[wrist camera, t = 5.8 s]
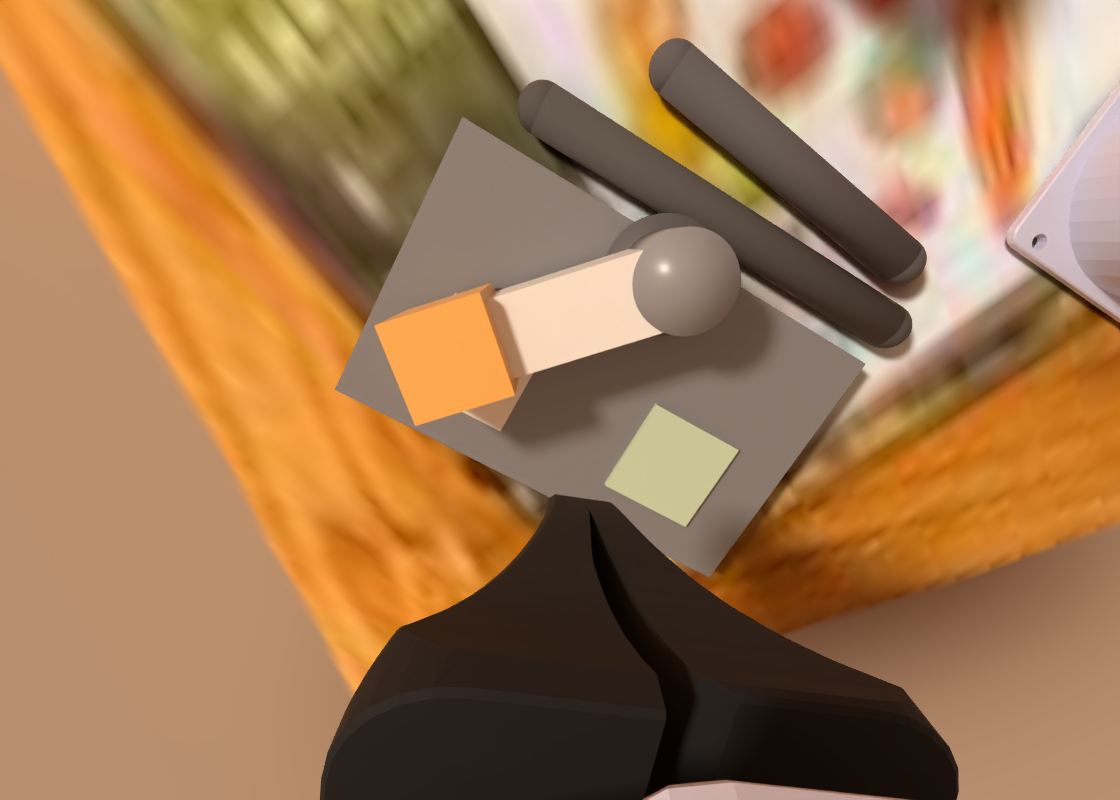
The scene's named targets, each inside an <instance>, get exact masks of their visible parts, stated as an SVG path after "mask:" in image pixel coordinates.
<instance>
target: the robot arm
mask: <svg viewBox="0 0 1120 800" xmlns="http://www.w3.org/2000/svg"><path fill="white" fill-rule="evenodd" d="M1035 236H1036V237H1037V243H1036V245H1035V246H1034V247H1032V241H1033V239H1034V237H1035ZM1006 240H1007V244H1008V245H1009V246H1010V247H1011V248H1012V249H1014V250H1015V251H1017V252H1018V253H1020V254H1021V255H1022V256H1024V257H1025V258H1027V259H1028V260H1030V261H1031V262H1032V263H1034V264H1035V265H1037V266H1038V267H1040V268H1041V269H1043V270H1044V271H1045V272H1047V273H1048V274H1050V275H1051V276H1053V277H1054V278H1055V279H1057V280H1058V281H1060V282H1061V283H1063V284H1064V285H1066V286H1067V287H1068V288H1070V289H1071V290H1073V291H1074V292H1076V293H1077V294H1078V295H1080V296H1081V297H1083V298H1084V299H1086V300H1087V301H1089V302H1090V303H1091V304H1093V305H1094V306H1096V307H1097V308H1099V309H1100V310H1101V311H1103V312H1104V313H1106V314H1107V315H1109V316H1110V317H1112V318H1113V319H1114V320H1116V321H1117V322H1119V323H1120V82H1119V83H1118V84H1117V86H1116V87H1115V88H1114V90H1113V91H1112V92H1111V94H1110V95H1109V96H1108V98H1107V99H1106V100H1105V102H1104V103H1103V104H1102V106H1101V107H1100V108H1099V110H1098V111H1097V112H1096V114H1095V115H1094V116H1093V118H1092V119H1091V120H1090V122H1089V123H1088V124H1087V126H1086V127H1085V128H1084V130H1083V131H1082V132H1081V134H1080V135H1079V136H1078V138H1077V139H1076V140H1075V142H1074V143H1073V144H1072V146H1071V147H1070V148H1069V150H1068V151H1067V152H1066V154H1065V155H1064V156H1063V158H1062V159H1061V160H1060V162H1059V163H1058V164H1057V166H1056V167H1055V168H1054V170H1053V171H1052V172H1051V174H1050V175H1049V176H1048V177H1047V179H1046V180H1045V181H1044V183H1043V184H1042V185H1041V187H1040V188H1039V189H1038V191H1037V192H1036V193H1035V195H1034V196H1033V197H1032V199H1031V200H1030V201H1029V203H1028V204H1027V205H1026V207H1025V208H1024V209H1023V211H1022V212H1021V213H1020V215H1019V216H1018V217H1017V219H1016V220H1015V221H1014V223H1013V224H1012V225H1011V227H1010V228H1009V230H1008V232H1007V237H1006ZM958 787H959V786H958V767H957V764H956V762H955V759H954V757H953V754H952V752H951V750H950V747H949V746H948V745H947V744H946V742H945V741H944V740H943V739H942V737H941V736H940V735H939V734H938V732H937V731H936V730H935V729H934V727H933V726H932V725H931V724H930V722H929V721H928V720H927V718H926V717H925V716H924V715H923V714H922V713H921V711H920V710H919V709H918V707H917V706H916V705H915V703H914V702H913V701H912V700H911V698H910V697H909V696H908V695H907V693H906V692H905V691H904V690H903V689H902V688H901V687H898V686H896V685H893V684H891V683H888V682H886V681H883V680H881V679H878V678H876V677H873V676H871V675H868V674H866V673H863V672H860V671H858V670H855V669H853V668H850V667H848V666H845V665H843V664H840V663H838V662H836V661H833V660H831V659H829V658H826V657H824V656H822V655H820V654H818V653H816V652H814V651H812V650H810V649H807V648H805V647H803V646H801V645H799V644H797V643H795V642H793V641H791V640H789V639H787V638H785V637H783V636H781V635H780V634H778V633H776V632H774V631H772V630H770V629H768V628H766V627H765V626H763V625H761V624H760V623H758V622H756V621H755V620H753V619H751V618H749V617H748V616H746V615H744V614H743V613H741V612H739V611H738V610H736V609H735V608H733V607H731V606H730V605H728V604H727V603H725V602H724V601H722V600H721V599H719V598H718V597H717V596H715V595H714V594H712V593H711V592H710V591H708V590H707V589H705V588H704V587H703V586H701V585H700V584H698V583H697V582H696V581H695V580H693V579H692V578H691V577H690V576H688V575H687V574H686V573H685V572H683V571H682V570H681V569H680V568H679V567H678V566H676V565H675V564H674V563H673V562H672V561H671V560H669V559H668V558H667V557H666V556H665V555H664V554H663V553H662V552H661V551H660V550H659V549H657V548H656V547H655V546H654V545H653V544H652V543H651V542H650V541H649V540H648V539H647V538H646V537H645V536H644V535H643V534H642V533H641V532H640V531H639V530H638V529H637V528H636V527H635V526H634V525H633V524H632V523H631V522H630V520H629V519H628V518H627V517H626V516H625V515H624V514H623V513H622V512H621V511H620V510H619V509H618V508H617V507H616V506H615V505H614V504H612V503H611V502H606V501H599V500H592V499H585V498H578V497H572V496H565V495H558V494H555V495H553V496H551V497H550V498H549V500H548V506H547V511H546V514H545V516H544V519H543V520H542V522H541V524H540V525H539V527H538V529H537V530H536V532H535V534H534V535H533V537H532V538H531V539H530V540H529V542H528V543H527V544H526V546H525V547H524V548H523V550H522V551H521V552H520V553H519V554H518V555H517V557H516V558H515V559H514V560H513V561H512V562H511V563H510V564H509V565H508V566H507V567H506V568H505V569H504V570H503V571H502V572H501V573H500V574H498V575H497V576H496V577H495V578H494V579H492V580H491V581H490V582H489V583H487V584H486V585H485V586H484V587H482V588H481V589H480V590H478V591H477V592H476V593H474V594H473V595H471V596H469V597H468V598H466V599H464V600H463V601H461V602H459V603H458V604H456V605H454V606H452V607H450V608H448V609H446V610H444V611H441V612H439V613H436V614H434V615H431V616H429V617H426V618H424V619H421V620H419V621H416V622H414V623H411V624H408V625H405V626H402V627H401V628H399V629H398V630H397V631H396V632H395V634H394V635H393V636H392V638H391V639H390V640H389V642H388V643H387V644H386V646H385V647H384V649H383V650H382V651H381V653H380V654H379V655H378V657H377V658H376V660H375V661H374V663H373V664H372V666H371V667H370V669H369V670H368V672H367V674H366V675H365V677H364V678H363V680H362V682H361V684H360V685H359V687H358V689H357V690H356V692H355V694H354V696H353V697H352V699H351V701H350V703H349V705H348V707H347V709H346V711H345V713H344V716H343V718H342V720H341V723H340V725H339V727H338V729H337V732H336V734H335V737H334V739H333V741H332V744H331V746H330V748H329V751H328V753H327V757H326V762H325V766H324V770H323V774H322V778H321V792H320V800H956V799H957V796H958V792H959V788H958Z"/></svg>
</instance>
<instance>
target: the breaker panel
mask: <svg viewBox="0 0 1120 800" xmlns="http://www.w3.org/2000/svg"><path fill="white" fill-rule="evenodd" d="M688 226H690V227H701V228H705V227H704V226H703V225H702V224H700V223H699V222H698V221H696V220H694V219H692V218H690V217H687V216H685V215H681V214H676V213H659V214H654V215H650V216H647V217H644V218H642V219H640V220H638V221H636V222H633V221H632V220H630V219H628V218H627V217H625V216H623V215H622V214H620V213H619V212H617V211H615V210H614V209H612V208H610V207H609V206H607V205H605V204H604V203H602V202H601V201H599V200H597V199H596V198H594V197H592V196H591V195H589V194H588V193H586V192H584V191H583V190H581V189H579V188H578V187H576V186H574V185H573V184H571V183H570V182H568V181H566V180H565V179H563V178H561V177H560V176H558V175H557V174H555V173H553V172H552V171H550V170H548V169H547V168H545V167H543V166H542V165H540V164H539V163H537V162H535V161H534V160H532V159H530V158H529V157H527V156H526V155H524V154H522V153H521V152H519V151H517V150H516V149H514V148H512V147H511V146H509V145H508V144H506V143H504V142H503V141H501V140H499V139H498V138H496V137H494V136H493V135H491V134H490V133H488V132H486V131H485V130H483V129H481V128H480V127H478V126H477V125H475V124H473V123H472V122H470V121H468V120H467V119H465V118H463V117H462V119H461V121H460V124H459V126H458V128H457V130H456V132H455V134H454V136H453V139H452V141H451V143H450V145H449V147H448V149H447V151H446V153H445V156H444V158H443V160H442V162H441V164H440V166H439V168H438V171H437V173H436V175H435V177H434V179H433V181H432V183H431V186H430V188H429V190H428V192H427V194H426V196H425V198H424V200H423V203H422V205H421V207H420V209H419V211H418V213H417V215H416V218H415V220H414V222H413V224H412V226H411V228H410V230H409V232H408V235H407V237H406V239H405V241H404V243H403V245H402V247H401V250H400V252H399V254H398V256H397V258H396V260H395V262H394V264H393V267H392V269H391V271H390V273H389V275H388V277H387V279H386V282H385V284H384V286H383V288H382V290H381V292H380V294H379V297H378V299H377V301H376V303H375V305H374V307H373V309H372V311H371V314H370V316H369V318H368V320H367V322H366V324H365V326H364V329H363V331H362V333H361V335H360V337H359V339H358V341H357V343H356V346H355V348H354V350H353V352H352V354H351V356H350V358H349V361H348V363H347V365H346V367H345V369H344V371H343V373H342V375H341V378H340V380H339V382H338V384H337V386H336V388H335V390H337V391H339V392H341V393H343V394H345V395H347V396H349V397H351V398H353V399H355V400H357V401H359V402H361V403H363V404H365V405H367V406H369V407H371V408H373V409H375V410H377V411H379V412H381V413H383V414H385V415H387V416H389V417H391V418H393V419H395V420H397V421H399V422H401V423H403V424H405V425H407V426H409V427H411V428H413V429H415V430H417V431H419V432H421V433H423V434H425V435H427V436H429V437H431V438H433V439H434V440H436V441H438V442H440V443H442V444H444V445H446V446H448V447H450V448H452V449H454V450H456V451H458V452H460V453H462V454H464V455H466V456H468V457H470V458H472V459H474V460H476V461H478V462H480V463H482V464H484V465H486V466H488V467H490V468H492V469H494V470H496V471H498V472H500V473H502V474H504V475H506V476H508V477H510V478H512V479H514V480H516V481H518V482H520V483H522V484H524V485H526V486H528V487H530V488H532V489H534V490H536V491H538V492H540V493H542V494H544V495H546V496H548V497H551V496H553V495H555V494H558V495H565V496H572V497H578V498H585V499H592V500H599V501H606V502H611V503H612V504H614V505H615V506H616V507H617V508H618V509H619V510H620V511H621V512H622V513H623V514H624V515H625V516H626V517H627V518H628V519H629V520H630V522H631V523H632V524H633V525H634V526H635V527H636V528H637V529H638V530H639V531H640V532H641V533H642V534H643V535H644V536H645V537H646V538H647V539H648V540H649V541H650V542H651V543H652V544H653V545H654V546H655V547H656V548H657V549H659V550H660V551H661V552H662V553H663V554H664V555H666V556H668V557H670V558H672V559H674V560H676V561H678V562H680V563H682V564H684V565H686V566H688V567H690V568H692V569H694V570H696V571H698V572H700V573H702V574H704V575H706V576H708V577H710V576H711V575H712V573H713V572H714V571H715V569H716V568H717V566H718V565H719V564H720V562H721V561H722V560H723V558H724V557H725V556H726V554H727V553H728V551H729V550H730V549H731V547H732V546H733V545H734V543H735V542H736V540H737V539H738V538H739V536H740V535H741V534H742V532H743V531H744V530H745V528H746V527H747V525H748V524H749V523H750V521H751V520H752V519H753V517H754V516H755V515H756V513H757V512H758V510H759V509H760V508H761V506H762V505H763V504H764V502H765V501H766V499H767V498H768V497H769V495H770V494H771V493H772V491H773V490H774V489H775V487H776V486H777V484H778V483H779V482H780V480H781V479H782V478H783V476H784V475H785V473H786V472H787V471H788V469H789V468H790V467H791V465H792V464H793V463H794V461H795V460H796V458H797V457H798V456H799V454H800V453H801V452H802V450H803V449H804V448H805V446H806V445H807V443H808V442H809V441H810V439H811V438H812V437H813V435H814V434H815V432H816V431H817V430H818V428H819V427H820V426H821V424H822V423H823V422H824V420H825V419H826V417H827V416H828V415H829V413H830V412H831V411H832V409H833V408H834V406H835V405H836V404H837V402H838V401H839V400H840V398H841V397H842V396H843V394H844V393H845V391H846V390H847V389H848V387H849V386H850V385H851V383H852V382H853V381H854V379H855V378H856V376H857V375H858V374H859V372H860V371H861V370H862V368H863V367H864V365H865V363H863V362H862V361H860V360H858V359H857V358H855V357H854V356H852V355H850V354H849V353H847V352H845V351H844V350H842V349H841V348H839V347H837V346H836V345H834V344H832V343H831V342H829V341H827V340H826V339H824V338H823V337H821V336H819V335H818V334H816V333H814V332H813V331H811V330H810V329H808V328H806V327H805V326H803V325H801V324H800V323H798V322H796V321H795V320H793V319H792V318H790V317H788V316H787V315H785V314H783V313H782V312H780V311H779V310H777V309H775V308H774V307H772V306H770V305H769V304H767V303H765V302H764V301H762V300H761V299H759V298H757V297H756V296H754V295H752V294H751V293H749V292H747V291H746V290H744V289H743V288H741V287H740V289H739V293H738V296H737V299H736V302H735V304H734V305H733V307H732V309H731V310H730V312H729V313H728V315H727V316H726V317H725V318H724V319H723V320H722V321H721V322H720V323H719V324H718V325H716V326H715V327H713V328H712V329H710V330H708V331H706V332H703V333H701V334H698V335H693V336H674V335H670V334H666V333H661V334H658V335H655V336H651V337H648V338H645V339H642V340H638V341H635V342H632V343H629V344H625V345H622V346H619V347H615V348H612V349H609V350H606V351H602V352H599V353H596V354H593V355H589V356H586V357H583V358H580V359H576V360H573V361H570V362H567V363H563V364H560V365H557V366H554V367H550V368H547V369H544V370H541V371H537V372H534V373H531V374H528V375H524V376H521V377H519V379H518V384H517V389H516V394H515V396H512V397H509V398H506V399H502V400H499V401H496V402H493V403H489V404H486V405H483V406H479V407H476V408H473V409H470V410H466V411H463V412H460V413H457V414H453V415H450V416H447V417H443V418H440V419H437V420H434V421H430V422H427V423H424V424H420V425H417V426H415V425H414V422H413V420H412V417H411V415H410V412H409V410H408V407H407V405H406V403H405V400H404V398H403V395H402V393H401V390H400V388H399V385H398V383H397V381H396V378H395V376H394V373H393V371H392V368H391V366H390V363H389V361H388V359H387V356H386V354H385V351H384V349H383V346H382V344H381V341H380V339H379V337H378V334H377V332H376V329H375V327H374V326H375V325H377V324H379V323H381V322H383V321H385V320H387V319H389V318H391V317H393V316H395V315H397V314H399V313H402V312H404V311H406V310H408V309H411V308H414V307H417V306H421V305H424V304H427V303H430V302H433V301H436V300H439V299H443V298H446V297H449V296H452V295H455V294H458V293H461V292H464V291H468V290H471V289H474V288H477V287H480V286H483V285H486V284H490V283H493V286H494V289H495V291H498V290H501V289H505V288H508V287H511V286H514V285H517V284H520V283H523V282H527V281H530V280H533V279H536V278H539V277H542V276H545V275H549V274H552V273H555V272H558V271H561V270H564V269H567V268H571V267H574V266H577V265H580V264H583V263H586V262H589V261H593V260H596V259H599V258H602V257H605V256H608V255H611V254H615V253H618V252H621V251H624V250H627V249H629V248H630V247H631V246H632V244H634V243H635V242H636V241H637V240H638V239H639V238H641V237H642V236H644V235H646V234H648V233H650V232H653V231H656V230H662V229H671V228H679V227H688ZM705 229H706V228H705Z"/></svg>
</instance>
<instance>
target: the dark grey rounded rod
mask: <svg viewBox="0 0 1120 800" xmlns="http://www.w3.org/2000/svg"><path fill="white" fill-rule="evenodd" d="M649 78H650V82H651V84H652V86H653V88H654V90H655V91H656V92H657V93H658V94H659V95H660V96H662V97H663V98H664V99H665V100H666V101H668V102H669V103H670V104H671V105H672V106H674V107H675V108H676V109H677V110H678V111H679V112H681V113H682V114H683V115H684V116H685V117H687V118H688V119H689V120H690V121H691V122H693V123H694V124H695V125H696V126H697V127H699V128H700V129H701V130H702V131H703V132H704V133H706V134H707V135H708V136H709V137H710V138H712V139H713V140H714V141H715V142H716V143H718V144H719V145H720V146H721V147H722V148H723V149H725V150H726V151H727V152H728V153H729V154H731V155H732V156H733V157H734V158H735V159H737V160H738V161H739V162H740V163H741V164H743V165H744V166H745V167H746V168H747V169H748V170H750V171H751V172H752V173H753V174H754V175H756V176H757V177H758V178H759V179H760V180H762V181H763V182H764V183H765V184H766V185H767V186H769V187H770V188H771V189H772V190H773V191H775V192H776V193H777V194H778V195H779V196H781V197H782V198H783V199H784V200H785V201H787V202H788V203H789V204H790V205H791V206H792V207H794V208H795V209H796V210H797V211H798V212H800V213H801V214H802V215H803V216H804V217H806V218H807V219H808V220H809V221H810V222H811V223H813V224H814V225H815V226H816V227H817V228H819V229H820V230H821V231H822V232H823V233H825V234H826V235H827V236H828V237H829V238H831V239H832V240H833V241H834V242H835V243H836V244H838V245H839V246H840V247H841V248H842V249H844V250H845V251H846V252H847V253H848V254H850V255H851V256H852V257H853V258H854V259H855V260H857V261H858V262H859V263H860V264H861V265H863V266H864V267H865V268H866V269H867V270H869V271H870V272H871V273H872V274H873V275H875V276H876V277H877V278H878V279H879V280H881V281H882V282H884V283H887V284H891V285H901V284H905V283H908V282H910V281H912V280H914V279H915V278H916V277H918V276H919V275H920V274H921V272H922V271H923V269H924V267H925V265H926V260H927V256H926V251H925V249H924V247H923V246H922V245H921V244H920V243H919V242H918V241H917V240H916V239H915V238H914V237H912V236H911V235H910V234H909V233H908V232H907V231H906V230H904V229H903V228H902V227H901V226H900V225H899V224H898V223H896V222H895V221H894V220H893V219H892V218H891V217H890V216H888V215H887V214H886V213H885V212H884V211H883V210H882V209H880V208H879V207H878V206H877V205H876V204H875V203H874V202H873V201H871V200H870V199H869V198H868V197H867V196H866V195H865V194H863V193H862V192H861V191H860V190H859V189H858V188H857V187H855V186H854V185H853V184H852V183H851V182H850V181H849V180H847V179H846V178H845V177H844V176H843V175H842V174H841V173H839V172H838V171H837V170H836V169H835V168H834V167H833V166H831V165H830V164H829V163H828V162H827V161H826V160H825V159H823V158H822V157H821V156H820V155H819V154H818V153H817V152H815V151H814V150H813V149H812V148H811V147H810V146H809V145H807V144H806V143H805V142H804V141H803V140H802V139H801V138H799V137H798V136H797V135H796V134H795V133H794V132H793V131H791V130H790V129H789V128H788V127H787V126H786V125H785V124H783V123H782V122H781V121H780V120H779V119H778V118H777V117H775V116H774V115H773V114H772V113H771V112H770V111H769V110H767V109H766V108H765V107H764V106H763V105H762V104H761V103H759V102H758V101H757V100H756V99H755V98H754V97H753V96H751V95H750V94H749V93H748V92H747V91H746V90H745V89H743V88H742V87H741V86H740V85H739V84H738V83H737V82H735V81H734V80H733V79H732V78H731V77H730V76H729V75H727V74H726V73H725V72H724V71H723V70H722V69H721V68H719V67H718V66H717V65H716V64H715V63H714V62H713V61H711V60H710V59H709V58H708V57H707V56H706V55H705V54H703V53H702V52H701V51H700V50H699V49H698V48H697V47H695V46H694V45H693V44H692V43H691V42H689V41H687V40H685V39H680V38H676V39H671V40H668V41H666V42H664V43H663V44H662V45H660V46H659V47H658V48H657V50H656V51H655V52H654V54H653V56H652V58H651V61H650V65H649Z"/></svg>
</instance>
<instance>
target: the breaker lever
mask: <svg viewBox="0 0 1120 800" xmlns="http://www.w3.org/2000/svg"><path fill="white" fill-rule="evenodd" d="M740 282H741V273H740V266H739V263H738V259H737V257H736V255H735V253H734V251H733V249H732V248H731V246H730V245H729V244H728V243H727V242H726V241H725V240H724V239H723V238H722V237H721V236H719V235H718V234H716V233H715V232H713V231H710V230H708V229H705V228H701V227H690V226H688V227H679V228H671V229H662V230H656V231H653V232H650V233H648V234H646V235H644V236H642V237H641V238H639V239H638V240H637V241H636V242H635V243H634V244H632V246H631V247H630V248H629V249H627V250H624V251H621V252H618V253H615V254H611V255H608V256H605V257H602V258H599V259H596V260H593V261H589V262H586V263H583V264H580V265H577V266H574V267H571V268H567V269H564V270H561V271H558V272H555V273H552V274H549V275H545V276H542V277H539V278H536V279H533V280H530V281H527V282H523V283H520V284H517V285H514V286H511V287H508V288H505V289H501V290H498V291H495V289H494V286H493V283H490V284H486V285H483V286H480V287H477V288H474V289H471V290H468V291H464V292H461V293H458V294H455V295H452V296H449V297H446V298H443V299H439V300H436V301H433V302H430V303H427V304H424V305H421V306H417V307H414V308H411V309H408V310H406V311H404V312H402V313H399V314H397V315H395V316H393V317H391V318H389V319H387V320H385V321H383V322H381V323H379V324H377V325H375V326H374V327H375V329H376V332H377V334H378V337H379V339H380V341H381V344H382V346H383V349H384V351H385V354H386V356H387V359H388V361H389V363H390V366H391V368H392V371H393V373H394V376H395V378H396V381H397V383H398V385H399V388H400V390H401V393H402V395H403V398H404V400H405V403H406V405H407V407H408V410H409V412H410V415H411V417H412V420H413V422H414V425H415V426H417V425H420V424H424V423H427V422H430V421H434V420H437V419H440V418H443V417H447V416H450V415H453V414H457V413H460V412H463V411H466V410H470V409H473V408H476V407H479V406H483V405H486V404H489V403H493V402H496V401H499V400H502V399H506V398H509V397H512V396H515V394H516V389H517V384H518V379H519V377H521V376H524V375H528V374H531V373H534V372H537V371H541V370H544V369H547V368H550V367H554V366H557V365H560V364H563V363H567V362H570V361H573V360H576V359H580V358H583V357H586V356H589V355H593V354H596V353H599V352H602V351H606V350H609V349H612V348H615V347H619V346H622V345H625V344H629V343H632V342H635V341H638V340H642V339H645V338H648V337H651V336H655V335H658V334H661V333H666V334H670V335H674V336H693V335H698V334H701V333H703V332H706V331H708V330H710V329H712V328H713V327H715V326H716V325H718V324H719V323H720V322H721V321H722V320H723V319H724V318H725V317H726V316H727V315H728V313H729V312H730V310H731V309H732V307H733V305H734V304H735V302H736V299H737V296H738V293H739V289H740Z"/></svg>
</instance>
